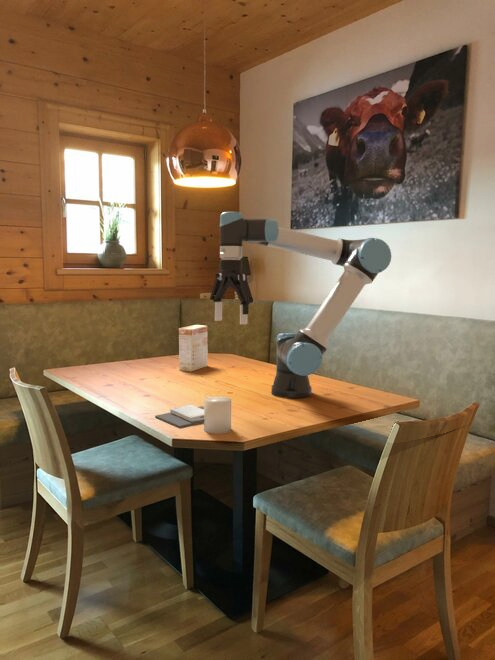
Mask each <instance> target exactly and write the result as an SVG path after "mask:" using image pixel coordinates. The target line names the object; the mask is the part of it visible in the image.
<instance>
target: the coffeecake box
mask: <svg viewBox="0 0 495 660" xmlns="http://www.w3.org/2000/svg"><path fill="white" fill-rule="evenodd" d="M208 333H209V332H208V325H202V324H194V325H189V326H188V325H187V326H184V327H179V328H178V361H179V363H178V366H179V369H178V370H179V371H181V372H182V371H184V372H194V371H197V370H200V369H202V368H206V367H208V366H209V362H208V360H209V358H208V356H209V355H208V348H209V347H208V343H209V341H208V336H209V335H208Z"/></svg>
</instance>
